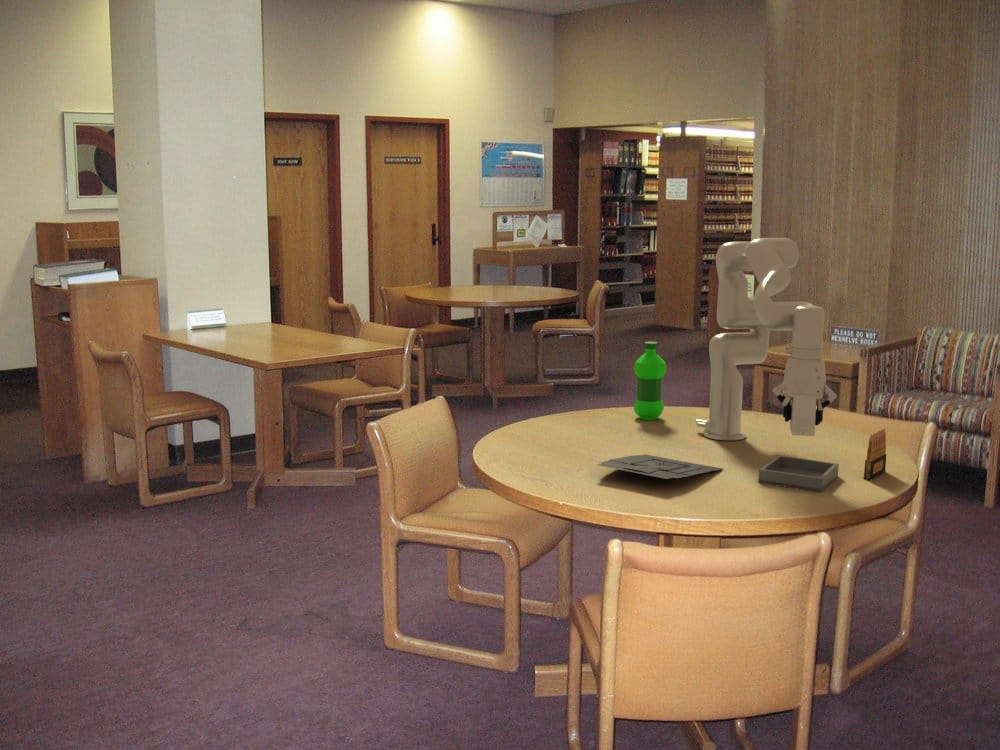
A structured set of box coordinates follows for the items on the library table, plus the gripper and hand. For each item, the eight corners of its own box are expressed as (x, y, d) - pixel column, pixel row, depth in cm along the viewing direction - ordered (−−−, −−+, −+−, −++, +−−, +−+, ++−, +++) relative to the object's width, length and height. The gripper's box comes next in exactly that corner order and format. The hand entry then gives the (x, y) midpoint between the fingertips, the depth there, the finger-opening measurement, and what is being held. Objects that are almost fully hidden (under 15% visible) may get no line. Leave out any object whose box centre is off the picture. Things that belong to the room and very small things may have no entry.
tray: (758, 482, 267) (759, 469, 266) (777, 467, 281) (778, 455, 280) (821, 492, 259) (822, 479, 258) (837, 476, 273) (838, 463, 272)
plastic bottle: (665, 415, 342) (667, 340, 338) (662, 422, 332) (665, 345, 328) (634, 414, 345) (637, 339, 340) (631, 421, 335) (633, 344, 330)
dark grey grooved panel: (588, 474, 269) (589, 460, 269) (643, 463, 293) (645, 451, 293) (672, 491, 255) (674, 476, 254) (723, 478, 279) (725, 465, 279)
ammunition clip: (878, 470, 279) (881, 427, 277) (885, 472, 278) (888, 428, 276) (863, 479, 271) (866, 434, 269) (870, 480, 270) (874, 435, 268)
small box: (814, 436, 263) (817, 396, 261) (791, 435, 264) (794, 395, 262) (811, 429, 271) (814, 390, 269) (789, 428, 272) (791, 389, 270)
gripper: (768, 353, 265) (764, 421, 268) (838, 359, 256) (833, 429, 259) (777, 349, 271) (773, 415, 274) (845, 355, 263) (840, 423, 266)
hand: (802, 422), depth 267 cm, fingers closed on small box, 7 cm apart
